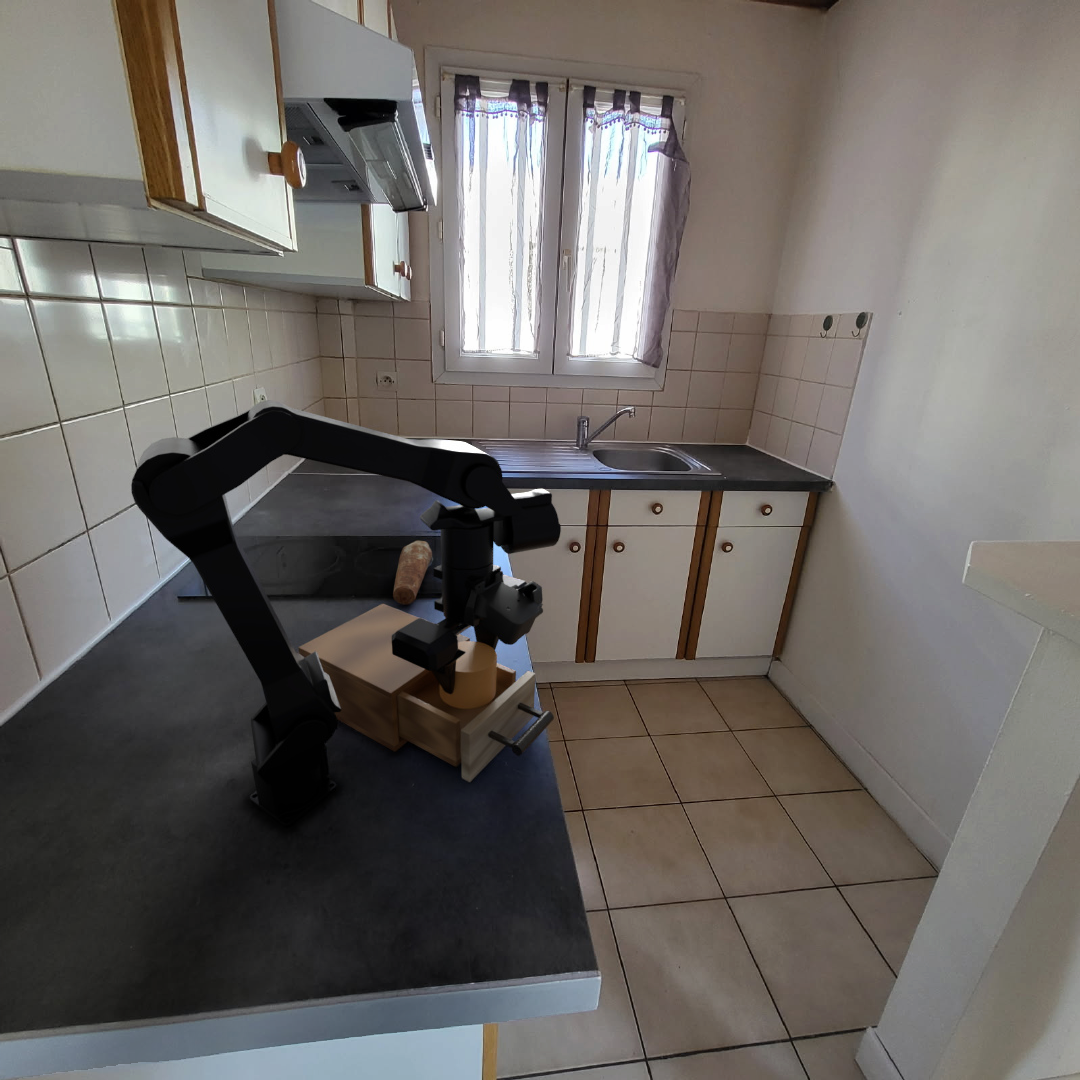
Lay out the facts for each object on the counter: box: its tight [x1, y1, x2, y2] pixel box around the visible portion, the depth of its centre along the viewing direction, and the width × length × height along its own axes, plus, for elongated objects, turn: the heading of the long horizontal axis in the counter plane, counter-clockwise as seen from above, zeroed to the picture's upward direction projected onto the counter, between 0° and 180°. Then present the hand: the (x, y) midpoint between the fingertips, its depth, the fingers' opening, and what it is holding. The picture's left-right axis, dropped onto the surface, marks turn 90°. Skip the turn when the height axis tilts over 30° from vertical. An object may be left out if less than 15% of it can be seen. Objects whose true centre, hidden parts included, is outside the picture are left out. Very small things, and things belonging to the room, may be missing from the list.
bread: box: [392, 540, 433, 606], centre depth 107 cm, size 6×19×6 cm, turn 2°
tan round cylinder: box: [440, 640, 498, 709], centre depth 67 cm, size 7×7×5 cm
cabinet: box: [297, 603, 471, 753], centre depth 75 cm, size 17×15×9 cm
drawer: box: [396, 662, 555, 783], centre depth 69 cm, size 20×13×7 cm, turn 58°
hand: (467, 677), depth 67 cm, fingers closed on tan round cylinder, 7 cm apart
